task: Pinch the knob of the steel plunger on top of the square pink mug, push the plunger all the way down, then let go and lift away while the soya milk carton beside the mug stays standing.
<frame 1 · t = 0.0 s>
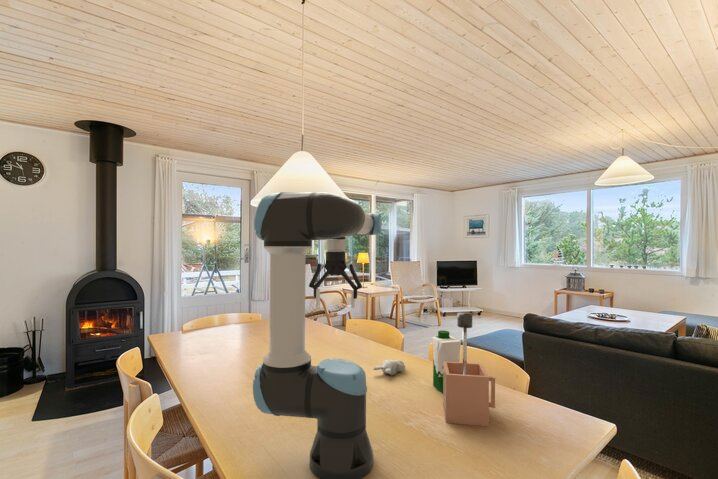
hand: (335, 306, 137), 28 cm above the table, tool pointing down, fingers open, 13 cm apart
square pink mug: (464, 414, 110), on the table
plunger: (464, 348, 110), point 20 cm above the table, slide at 8.0 cm
soya milk: (446, 389, 130), on the table
bunny figurine: (390, 373, 145), on the table
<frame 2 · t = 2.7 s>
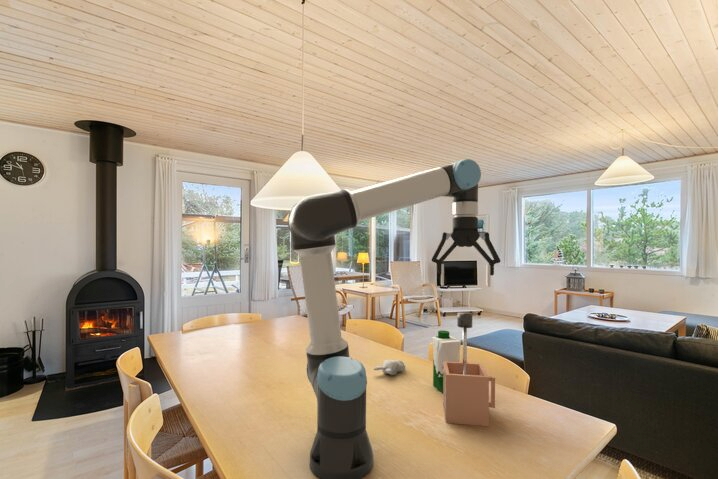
hand: (465, 285, 111), 39 cm above the table, tool pointing down, fingers open, 13 cm apart
nothing on the table moved.
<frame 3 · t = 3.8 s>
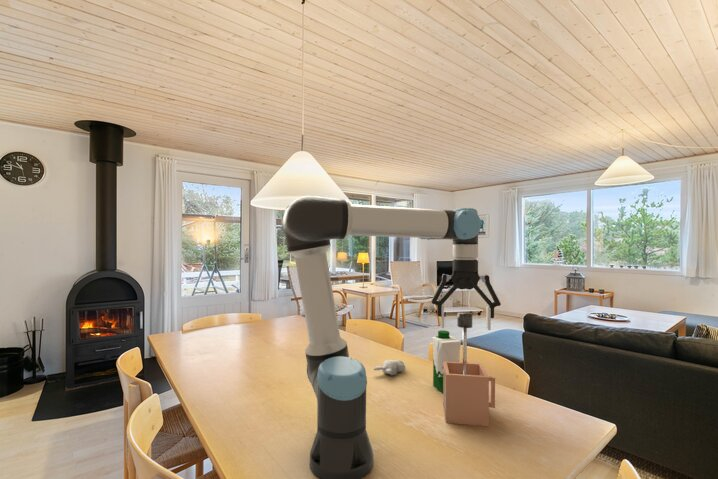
hand: (465, 328, 110), 26 cm above the table, tool pointing down, fingers open, 13 cm apart
nothing on the table moved.
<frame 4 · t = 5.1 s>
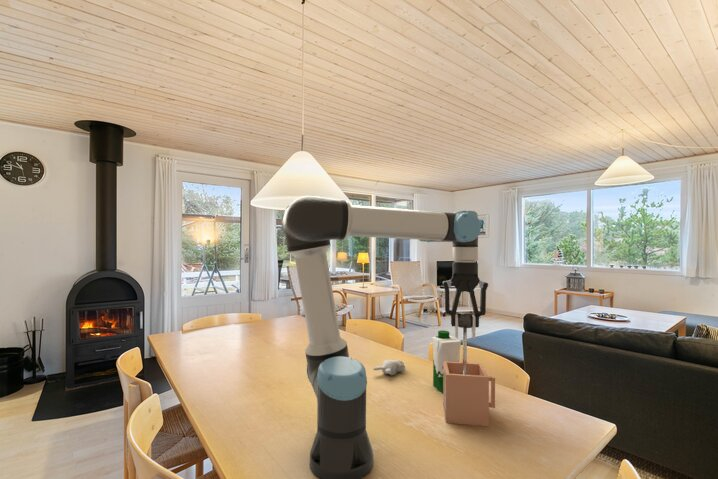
hand: (464, 337, 110), 24 cm above the table, tool pointing down, fingers closed on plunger, 4 cm apart
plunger: (464, 348, 110), point 20 cm above the table, slide at 8.0 cm, touching gripper
everything else where it was.
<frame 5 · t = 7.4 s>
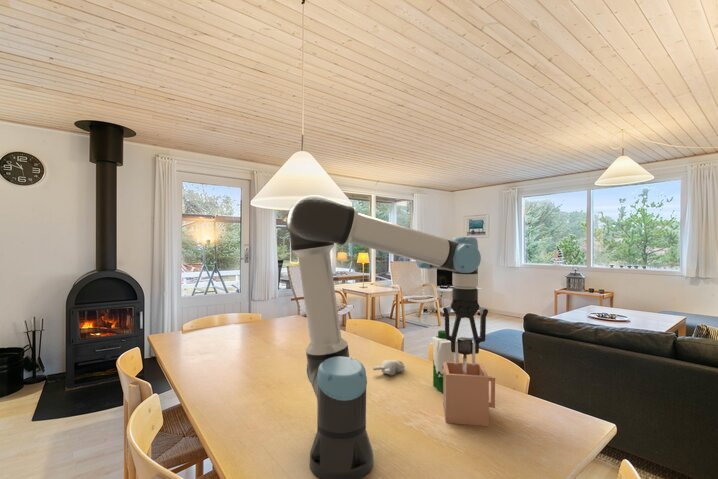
hand: (464, 363, 110), 16 cm above the table, tool pointing down, fingers closed on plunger, 4 cm apart
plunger: (464, 374, 110), point 12 cm above the table, slide at 0.0 cm, touching gripper
everything else where it was.
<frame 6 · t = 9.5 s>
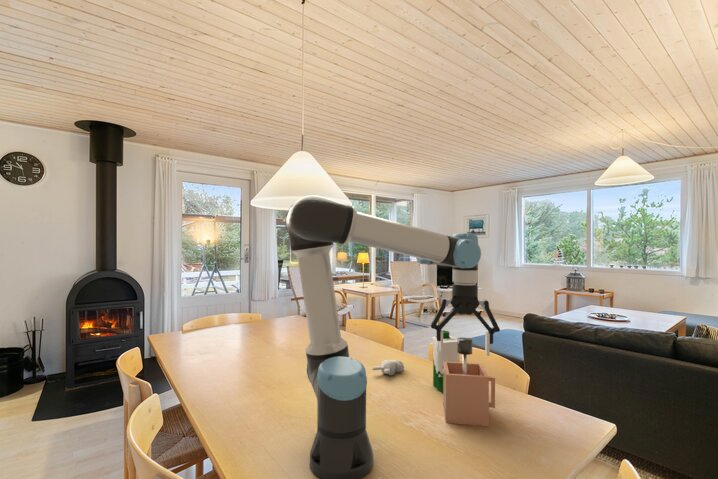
hand: (464, 353, 110), 19 cm above the table, tool pointing down, fingers open, 13 cm apart
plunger: (464, 375, 110), point 12 cm above the table, slide at 0.0 cm
everything else where it was.
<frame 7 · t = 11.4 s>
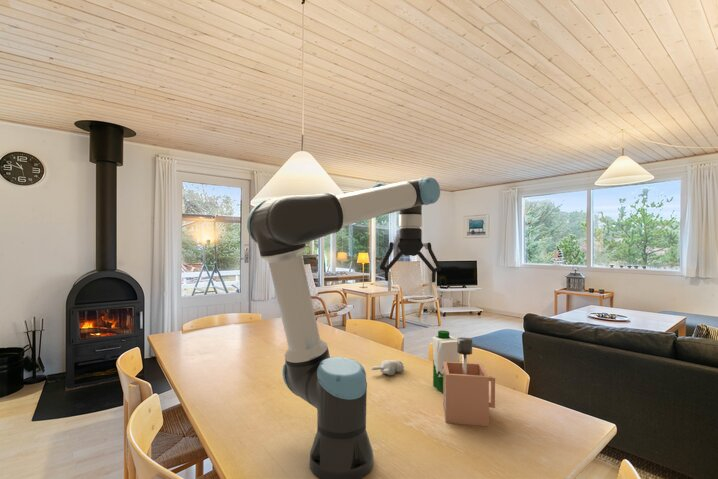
hand: (409, 291, 120), 36 cm above the table, tool pointing down, fingers open, 13 cm apart
nothing on the table moved.
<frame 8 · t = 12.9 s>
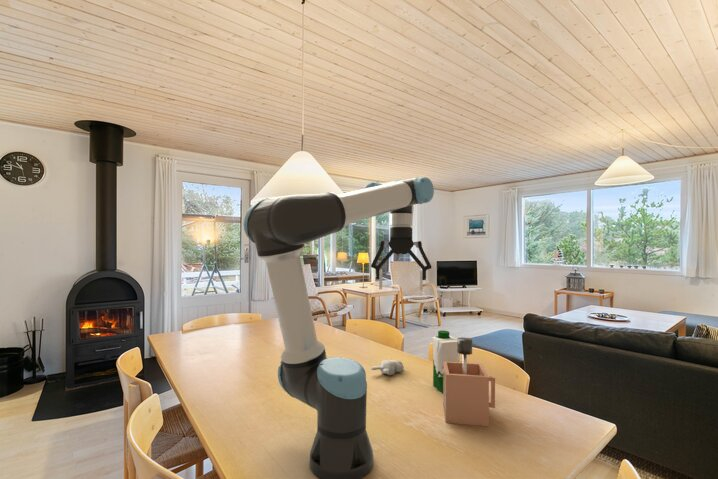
hand: (400, 289, 122), 37 cm above the table, tool pointing down, fingers open, 13 cm apart
nothing on the table moved.
at the end: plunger slide at 0.0 cm; the gripper is holding nothing; soya milk tilted 0° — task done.
